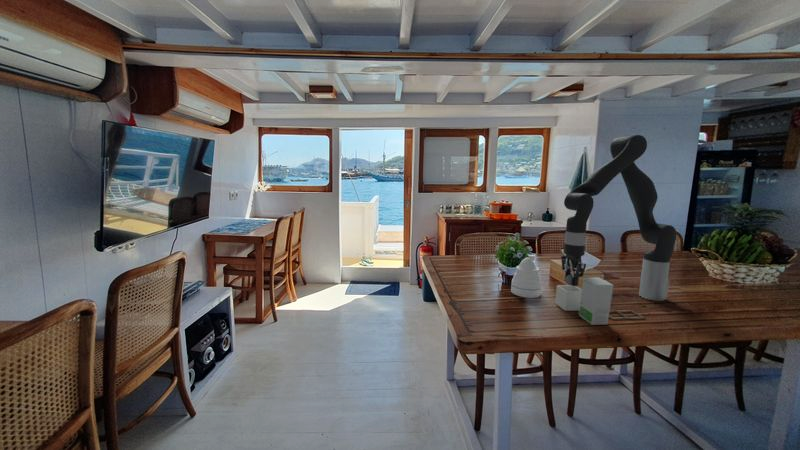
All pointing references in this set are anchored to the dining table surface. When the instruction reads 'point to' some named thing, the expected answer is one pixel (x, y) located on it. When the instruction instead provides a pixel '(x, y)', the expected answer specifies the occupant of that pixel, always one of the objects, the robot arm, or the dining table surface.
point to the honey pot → (526, 279)
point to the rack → (624, 315)
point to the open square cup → (568, 297)
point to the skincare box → (595, 300)
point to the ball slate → (569, 279)
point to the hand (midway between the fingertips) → (570, 283)
